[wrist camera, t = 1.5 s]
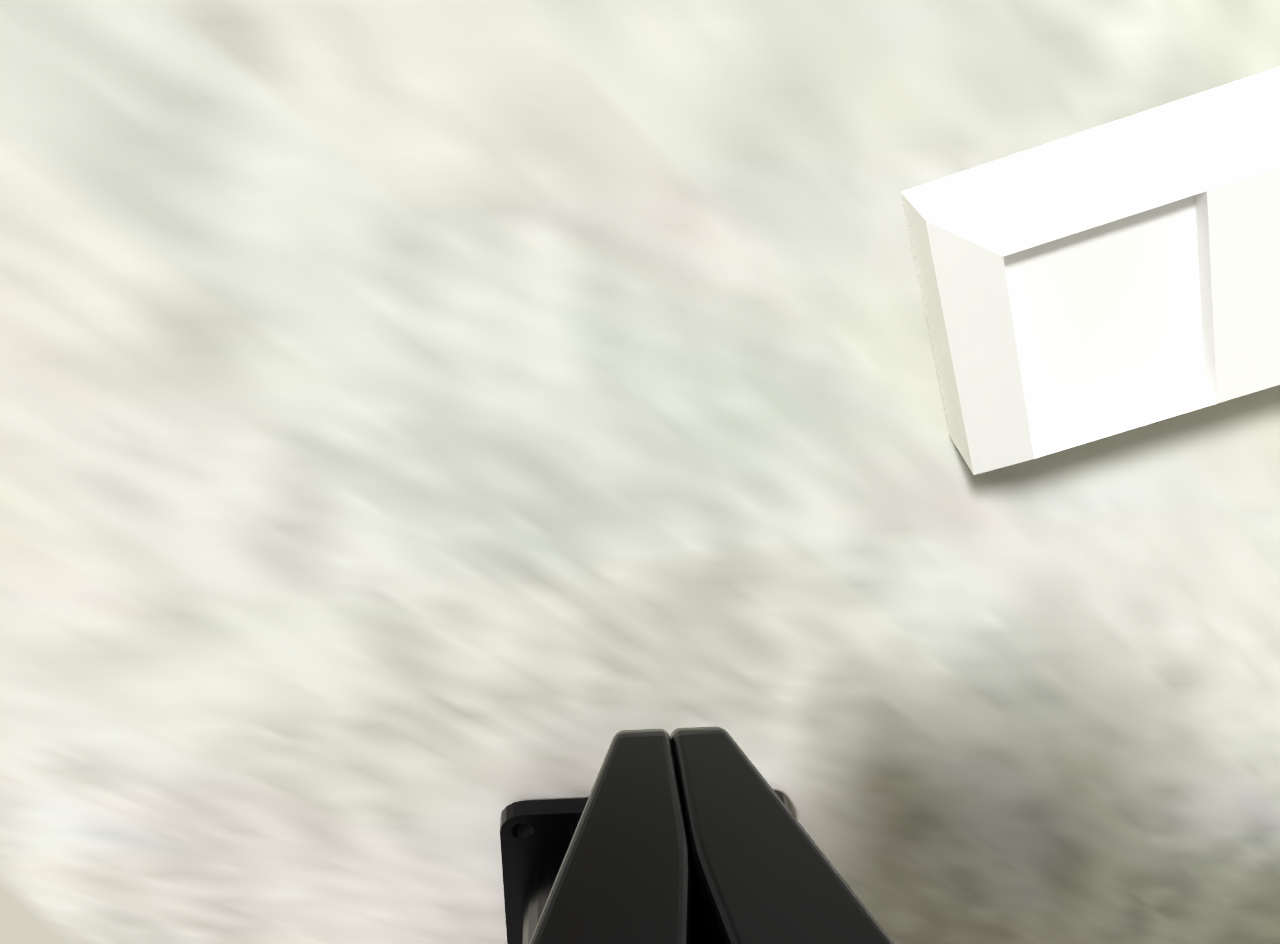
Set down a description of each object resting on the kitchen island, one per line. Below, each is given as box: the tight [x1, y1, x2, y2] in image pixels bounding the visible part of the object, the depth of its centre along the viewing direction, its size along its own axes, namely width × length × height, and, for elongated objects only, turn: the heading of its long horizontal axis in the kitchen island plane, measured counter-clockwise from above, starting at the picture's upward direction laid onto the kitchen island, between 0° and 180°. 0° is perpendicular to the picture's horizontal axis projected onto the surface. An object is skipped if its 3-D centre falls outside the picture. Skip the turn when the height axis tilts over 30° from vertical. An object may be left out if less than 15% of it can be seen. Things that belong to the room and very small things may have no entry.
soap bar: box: [901, 66, 1280, 475], centre depth 19 cm, size 5×9×3 cm, turn 108°
